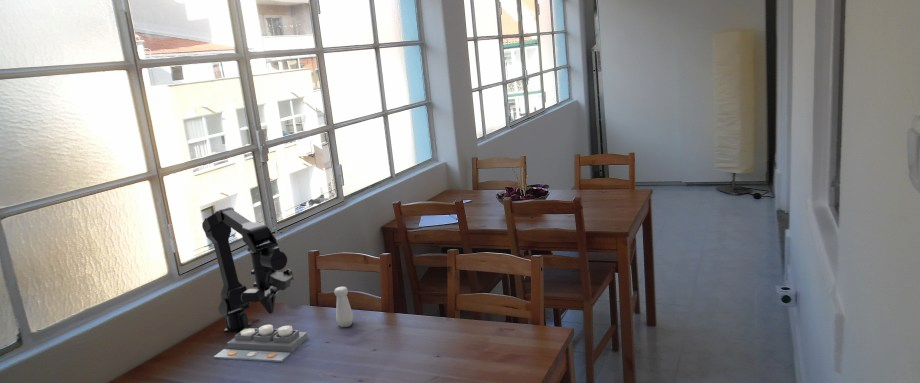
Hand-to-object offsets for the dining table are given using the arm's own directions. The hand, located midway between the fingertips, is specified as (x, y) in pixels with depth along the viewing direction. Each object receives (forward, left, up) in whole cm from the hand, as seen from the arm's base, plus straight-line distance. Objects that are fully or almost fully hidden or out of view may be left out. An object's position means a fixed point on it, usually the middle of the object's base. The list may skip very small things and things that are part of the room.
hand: (270, 313), depth 217 cm
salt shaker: (+16, +16, -11) cm, 26 cm away
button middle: (-3, 0, -7) cm, 8 cm away
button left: (-10, 0, -9) cm, 13 cm away
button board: (-3, 0, -11) cm, 11 cm away
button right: (+4, 0, -7) cm, 8 cm away
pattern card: (-3, -9, -11) cm, 14 cm away
